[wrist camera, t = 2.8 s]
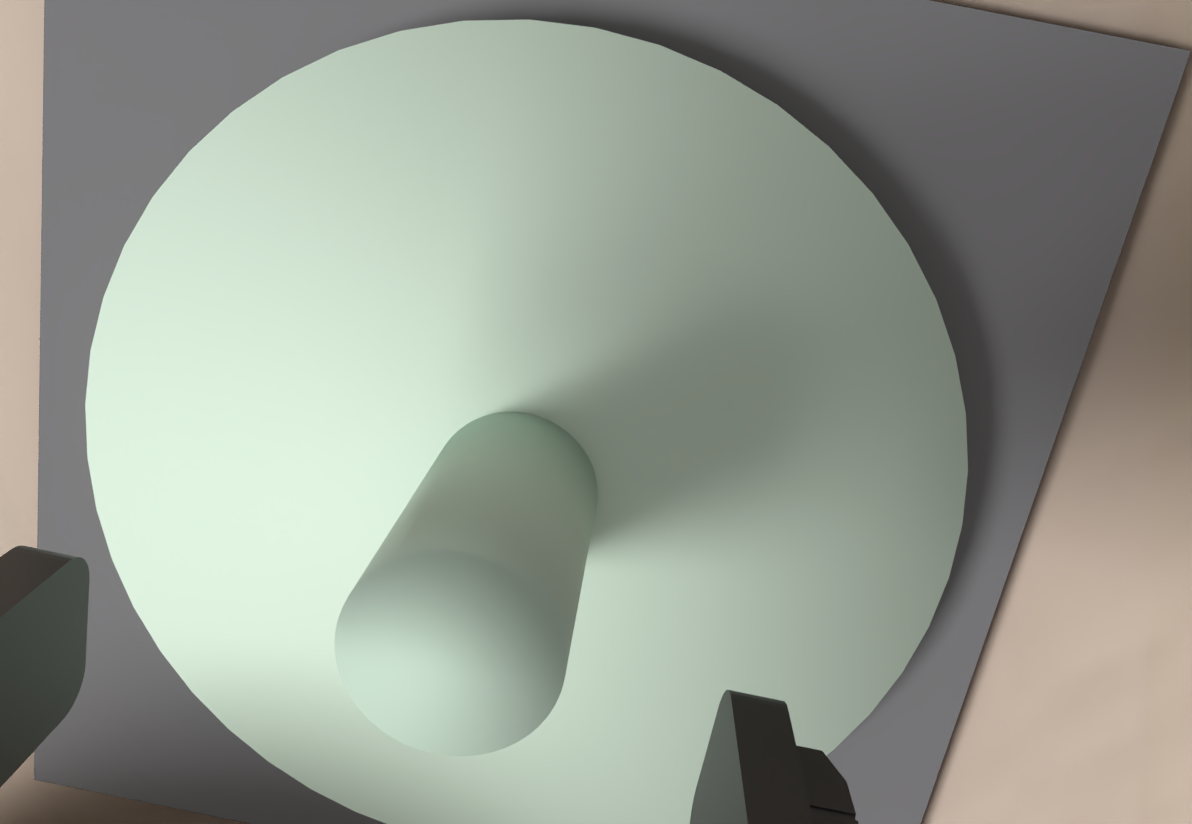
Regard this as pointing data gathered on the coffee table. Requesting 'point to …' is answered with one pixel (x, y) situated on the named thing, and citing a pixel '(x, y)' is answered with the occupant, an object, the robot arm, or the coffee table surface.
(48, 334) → the mat
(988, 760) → the coffee table surface
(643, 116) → the lid
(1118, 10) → the coffee table surface
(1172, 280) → the coffee table surface
